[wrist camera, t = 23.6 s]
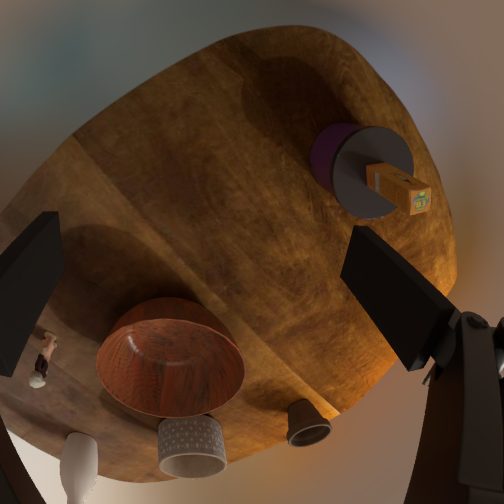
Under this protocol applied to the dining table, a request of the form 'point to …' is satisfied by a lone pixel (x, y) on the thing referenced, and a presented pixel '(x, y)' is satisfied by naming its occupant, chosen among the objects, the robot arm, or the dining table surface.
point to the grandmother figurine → (42, 360)
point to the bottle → (79, 467)
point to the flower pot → (306, 425)
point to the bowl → (171, 359)
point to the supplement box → (399, 188)
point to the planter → (191, 447)
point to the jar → (357, 165)
